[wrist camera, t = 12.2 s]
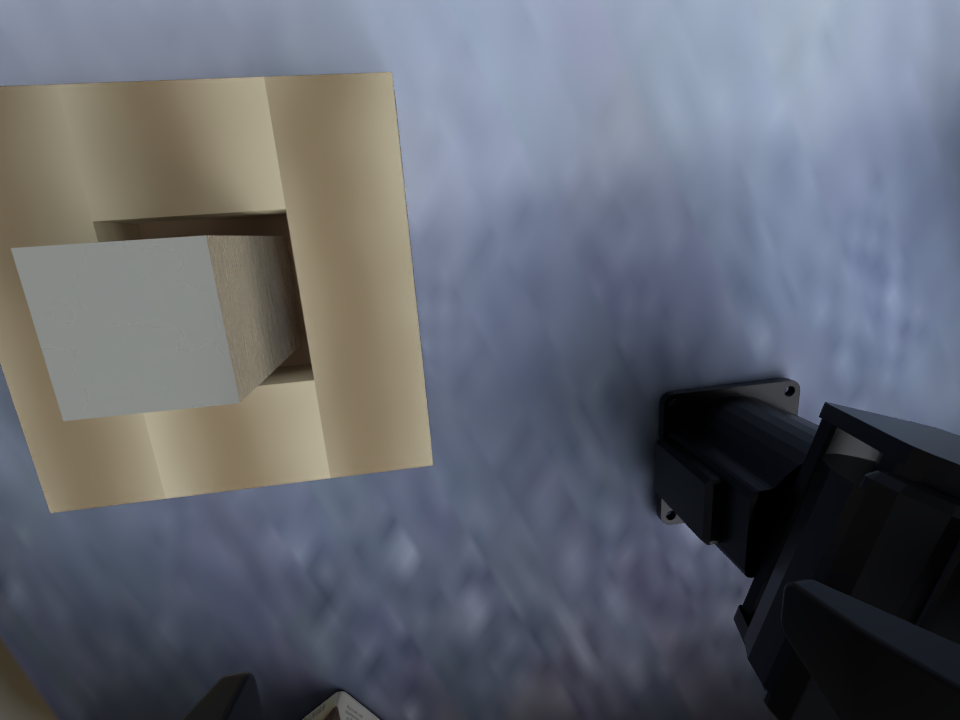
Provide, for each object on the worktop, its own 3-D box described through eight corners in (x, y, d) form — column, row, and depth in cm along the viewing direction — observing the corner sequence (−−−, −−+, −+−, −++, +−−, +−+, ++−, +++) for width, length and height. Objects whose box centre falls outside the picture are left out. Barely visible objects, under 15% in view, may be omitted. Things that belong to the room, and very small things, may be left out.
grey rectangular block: (285, 236, 18) (205, 235, 11) (302, 343, 19) (239, 403, 12) (168, 243, 17) (10, 248, 10) (193, 353, 18) (63, 421, 11)
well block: (395, 99, 17) (391, 71, 15) (430, 433, 21) (432, 465, 18) (-1, 116, 16) (-92, 89, 13) (104, 471, 19) (50, 513, 16)
